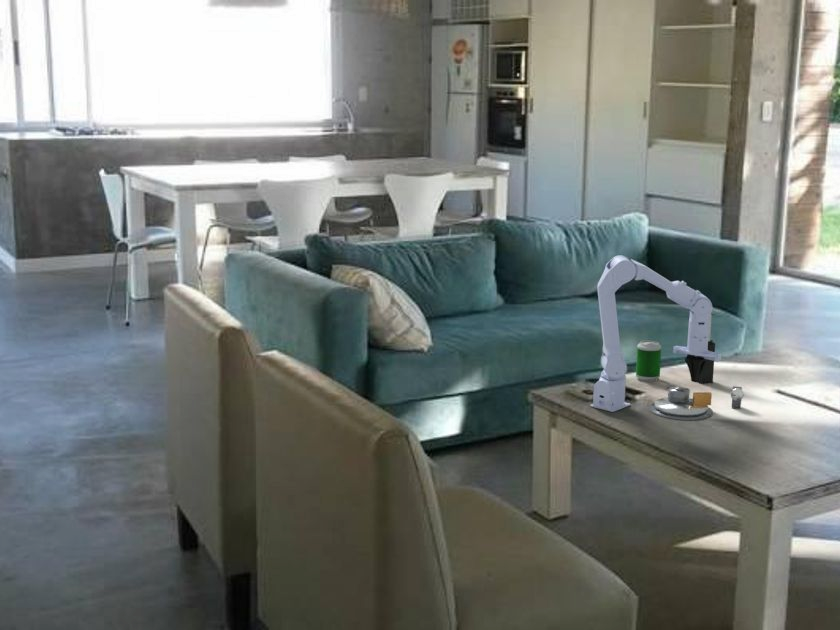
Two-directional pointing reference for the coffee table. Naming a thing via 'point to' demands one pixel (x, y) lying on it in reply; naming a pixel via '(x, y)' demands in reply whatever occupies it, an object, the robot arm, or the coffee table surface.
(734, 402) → the grey cube on chrome
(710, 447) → the coffee table surface
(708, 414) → the turntable base
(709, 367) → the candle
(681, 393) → the cover
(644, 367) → the soda can
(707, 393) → the turntable
